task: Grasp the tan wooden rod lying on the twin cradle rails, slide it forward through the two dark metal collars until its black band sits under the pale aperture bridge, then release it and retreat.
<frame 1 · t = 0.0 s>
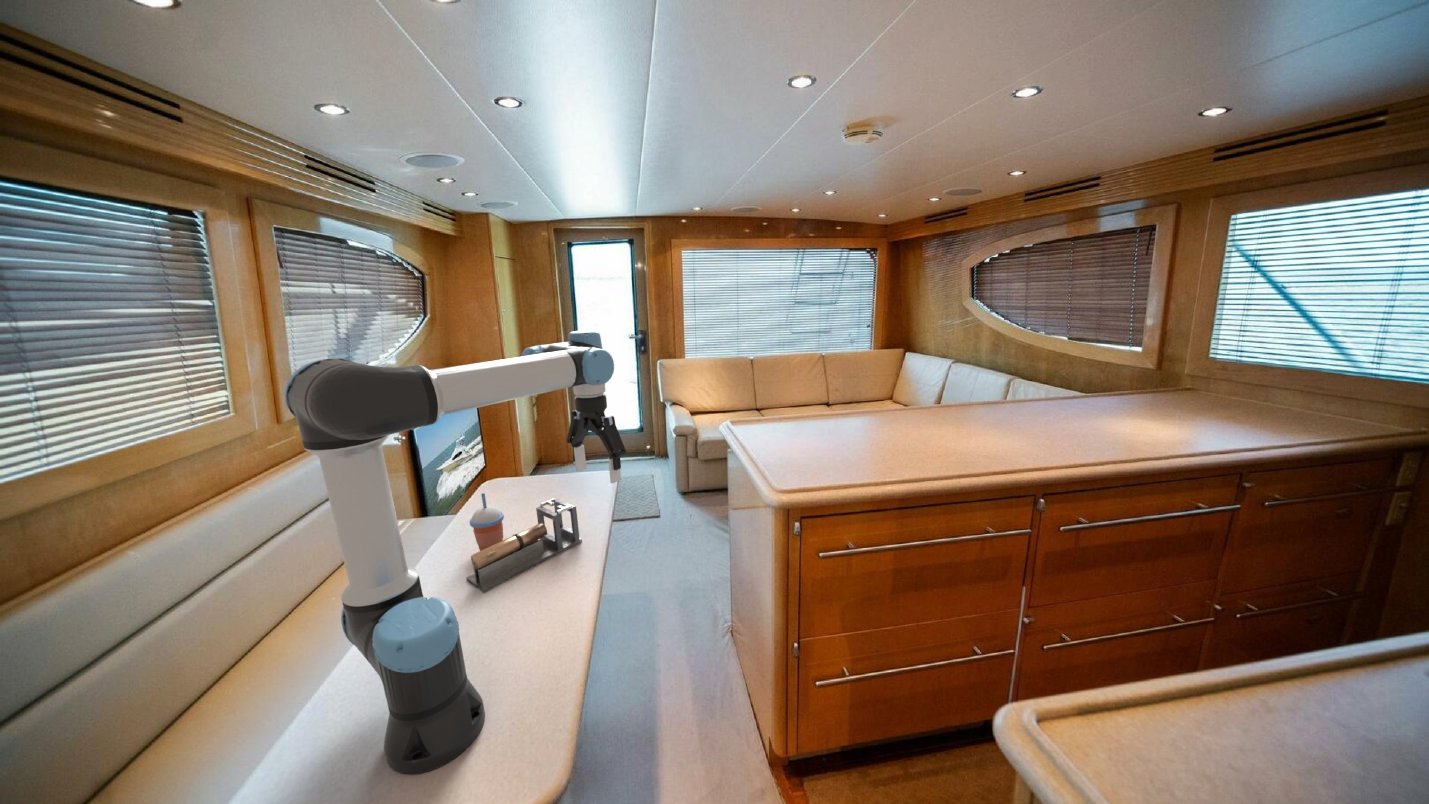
hand: (598, 475, 123), 28 cm above the table, fingers open, 13 cm apart
tan wooden rod: (510, 544, 133), point 7 cm above the table, touching collar rail
collar rail: (551, 548, 143), on the table
cup with straw: (491, 550, 144), on the table
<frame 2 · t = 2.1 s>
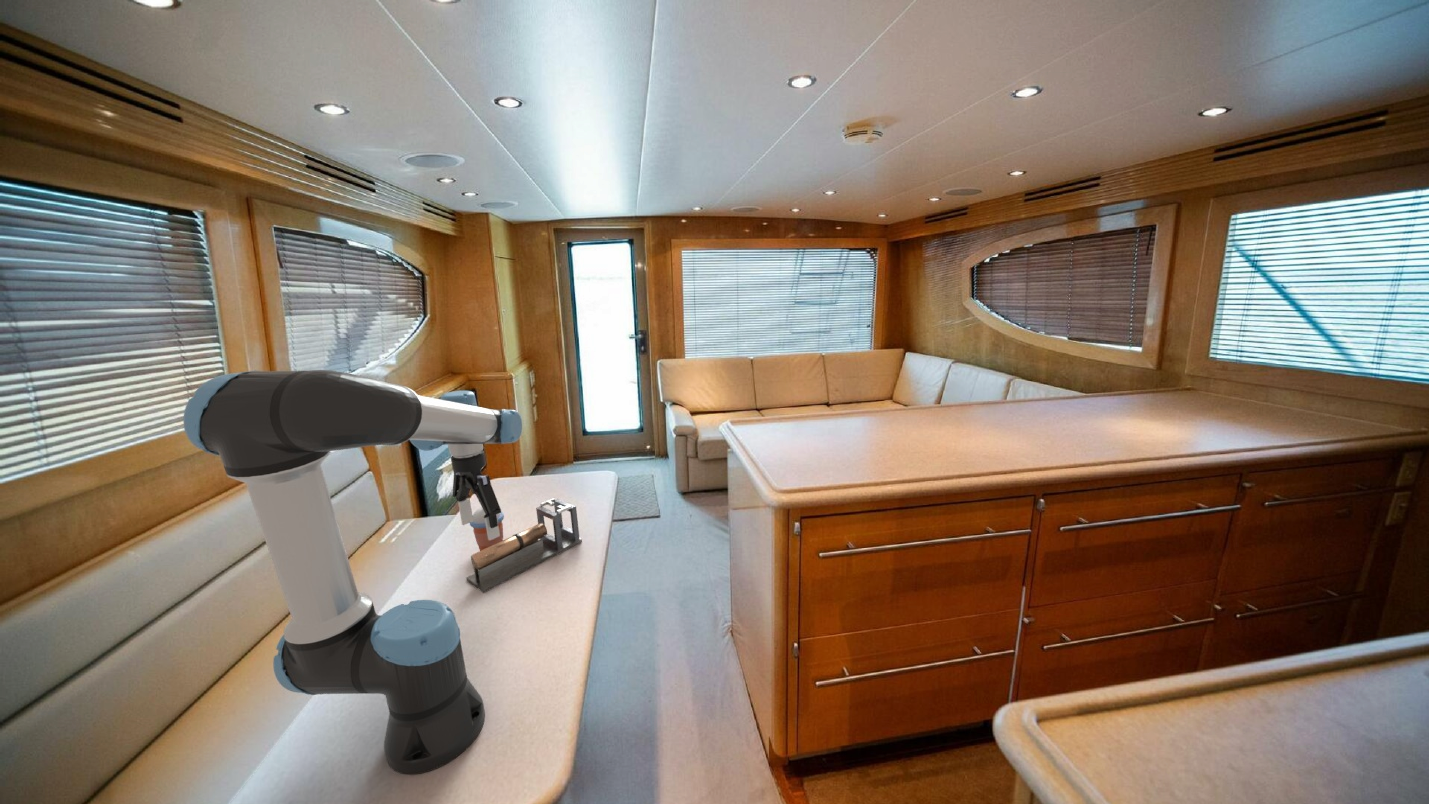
hand: (480, 530, 125), 14 cm above the table, fingers open, 13 cm apart
nothing on the table moved.
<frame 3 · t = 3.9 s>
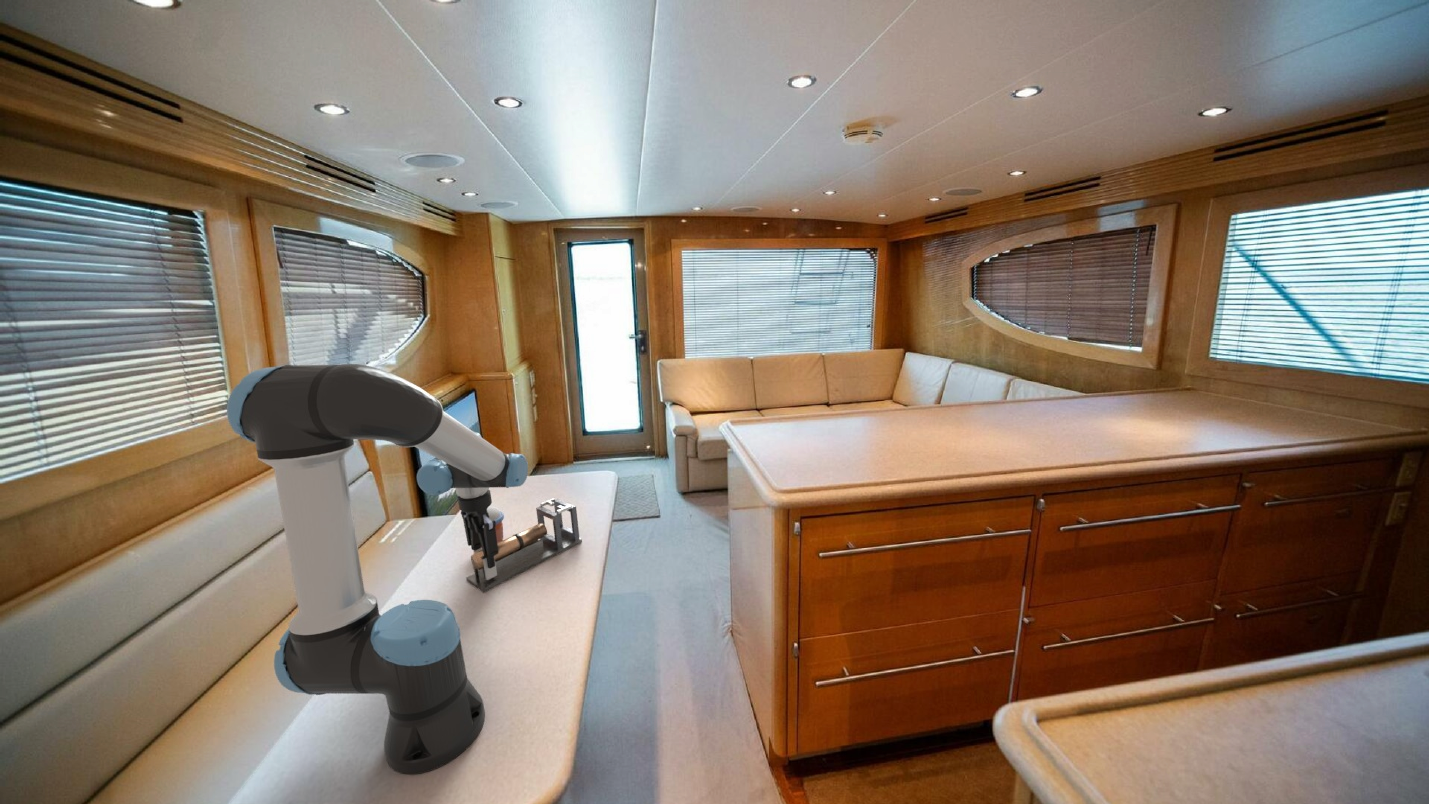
hand: (487, 574, 128), 2 cm above the table, fingers closed on tan wooden rod, 4 cm apart
tan wooden rod: (510, 544, 133), point 7 cm above the table, touching collar rail, gripper
everything else where it was.
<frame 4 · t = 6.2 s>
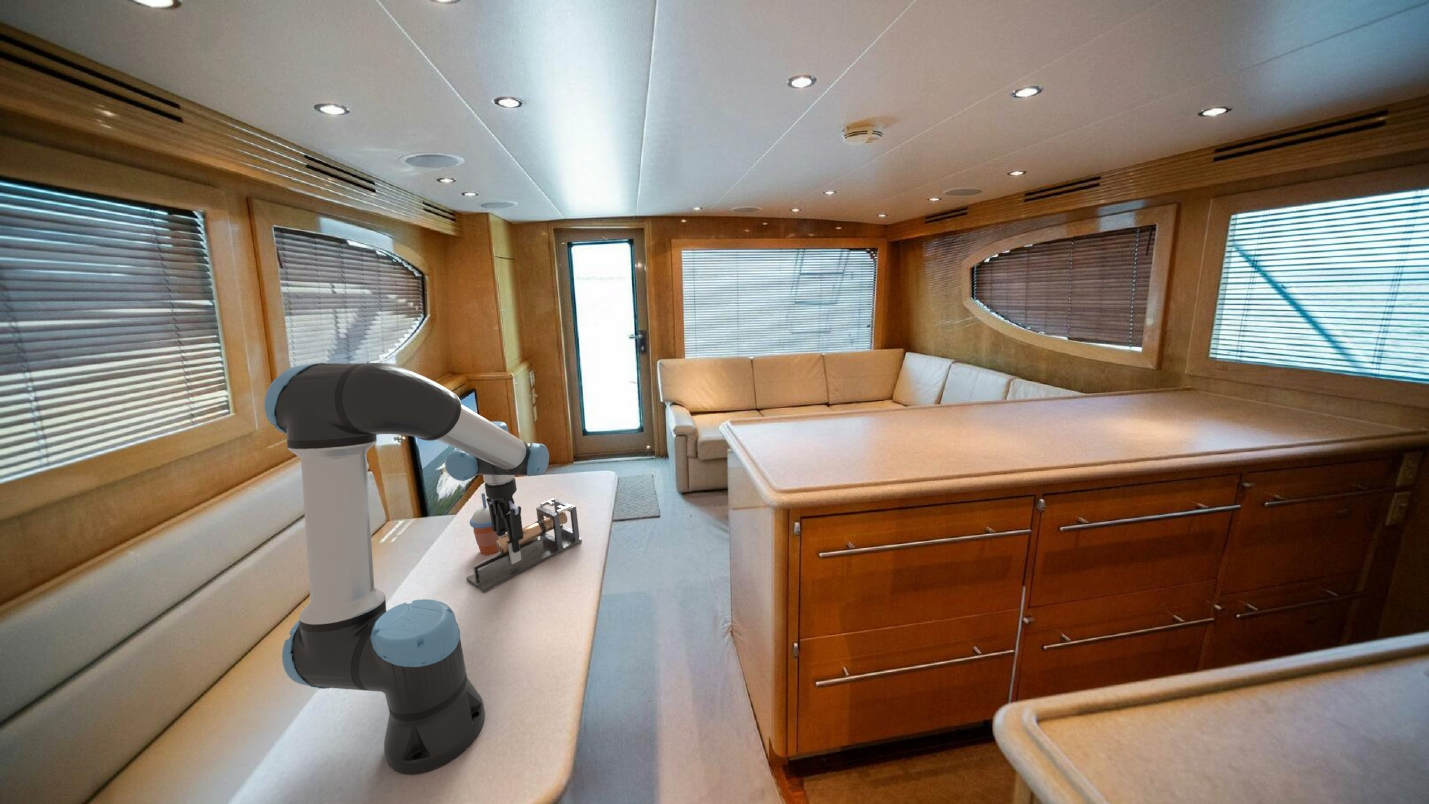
hand: (511, 558, 133), 3 cm above the table, fingers closed on tan wooden rod, 4 cm apart
tan wooden rod: (533, 531, 138), point 8 cm above the table, touching gripper
everything else where it was.
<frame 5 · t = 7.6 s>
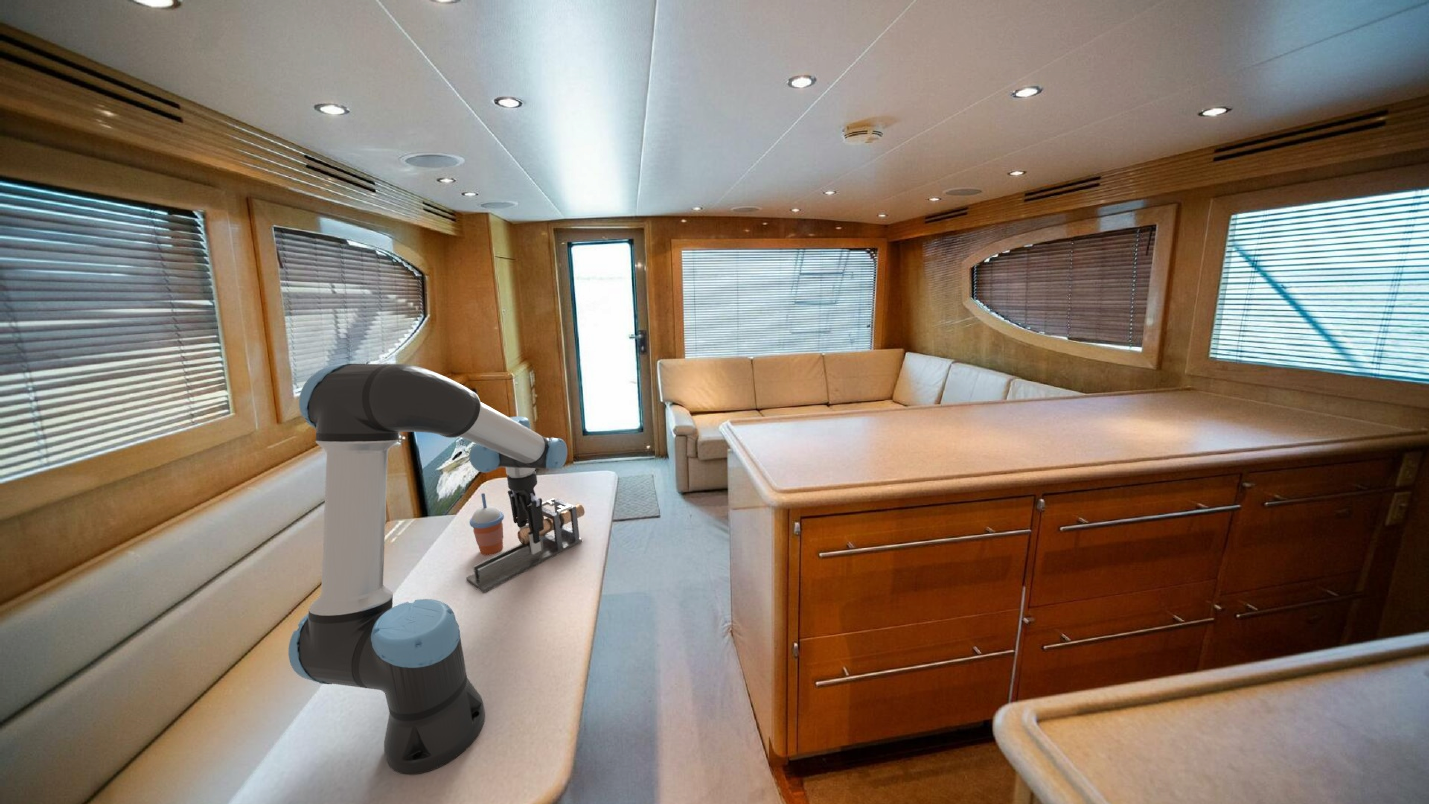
hand: (531, 549, 138), 3 cm above the table, fingers closed on tan wooden rod, 4 cm apart
tan wooden rod: (552, 522, 143), point 8 cm above the table, touching gripper
everything else where it was.
when the fingers open (3 cm above the table, at t = 8.7 s): tan wooden rod drops 1 cm, resting on collar rail.
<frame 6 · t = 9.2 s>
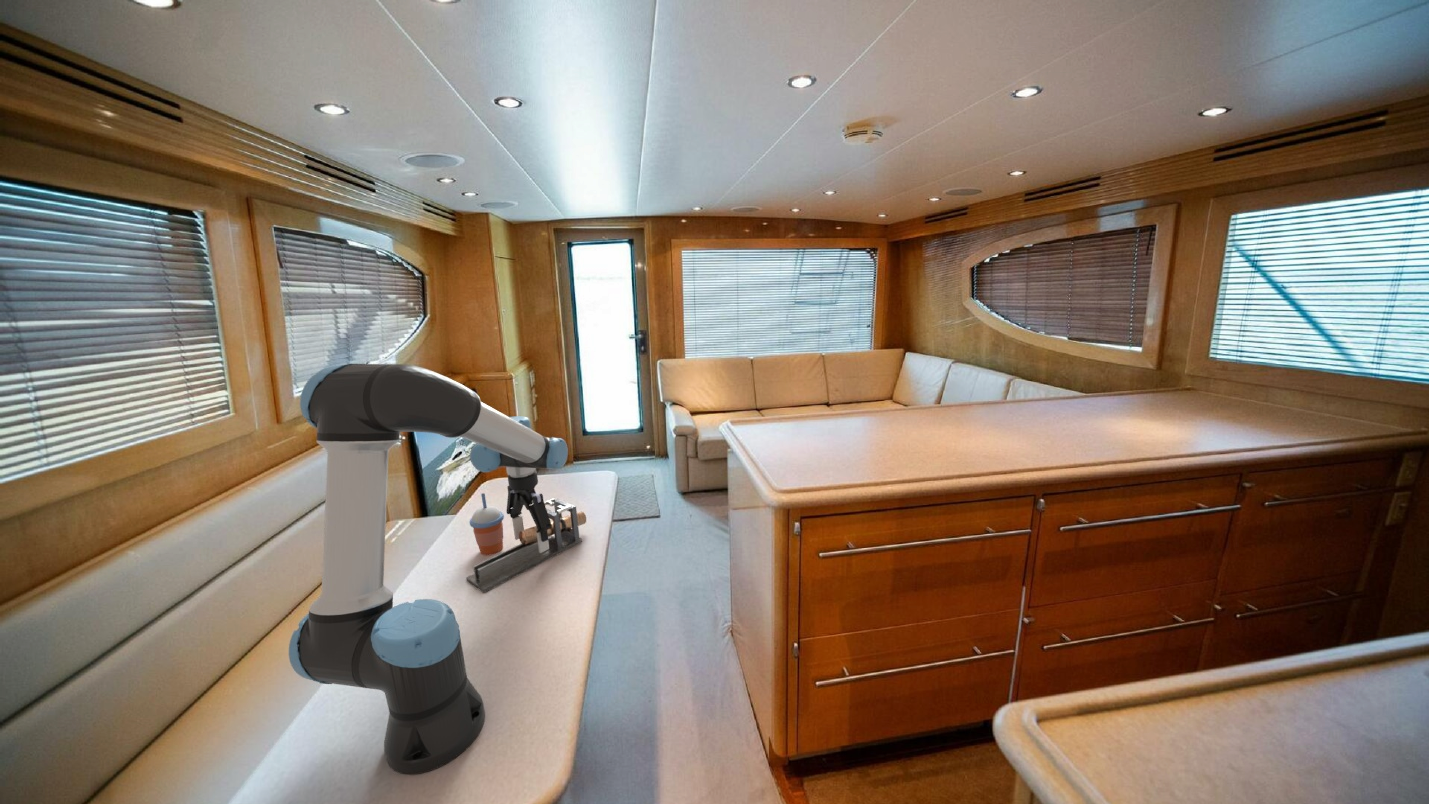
hand: (531, 544, 138), 4 cm above the table, fingers open, 11 cm apart
tan wooden rod: (554, 527, 143), point 6 cm above the table, tilted 7°, touching collar rail
everything else where it was.
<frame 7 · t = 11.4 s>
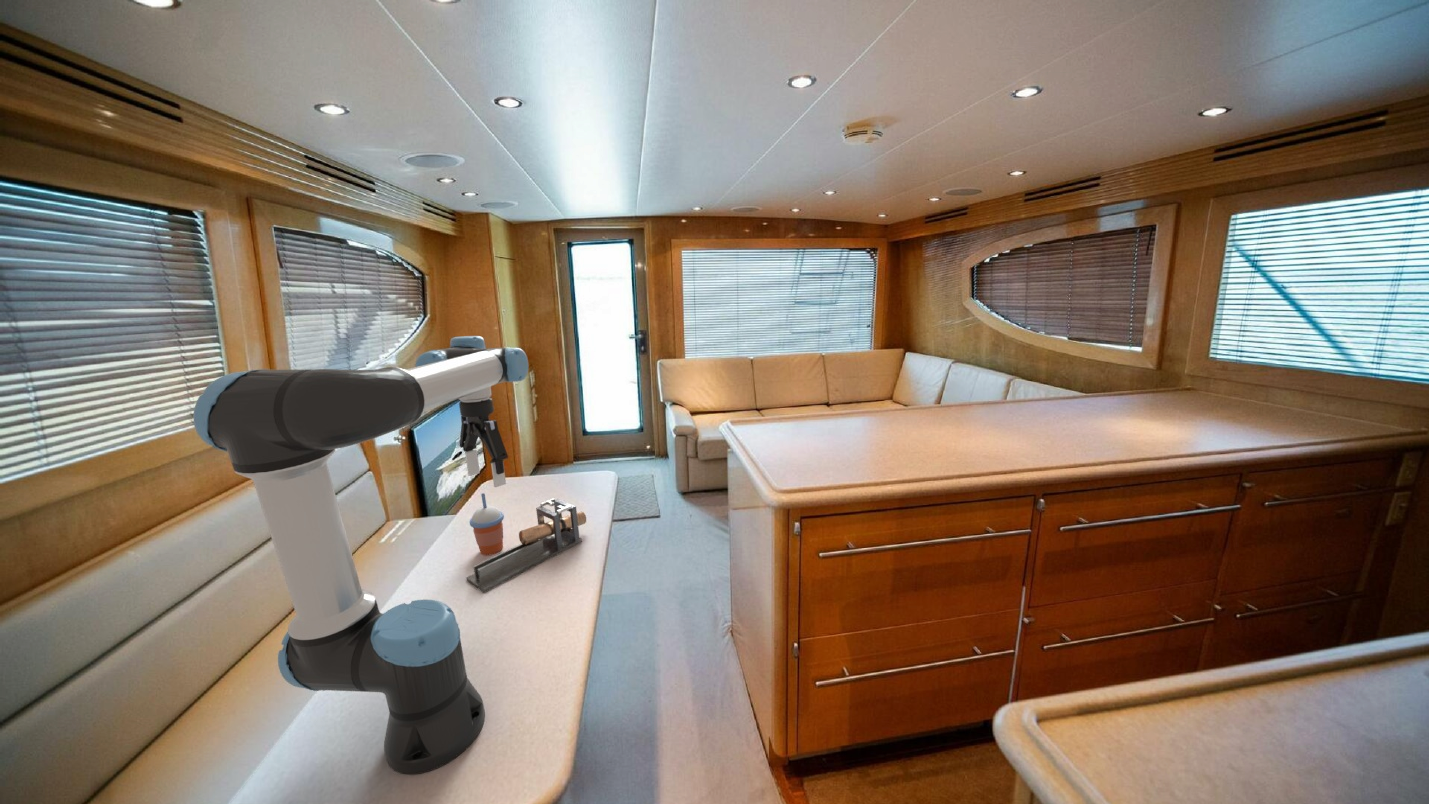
hand: (486, 479, 124), 27 cm above the table, fingers open, 13 cm apart
nothing on the table moved.
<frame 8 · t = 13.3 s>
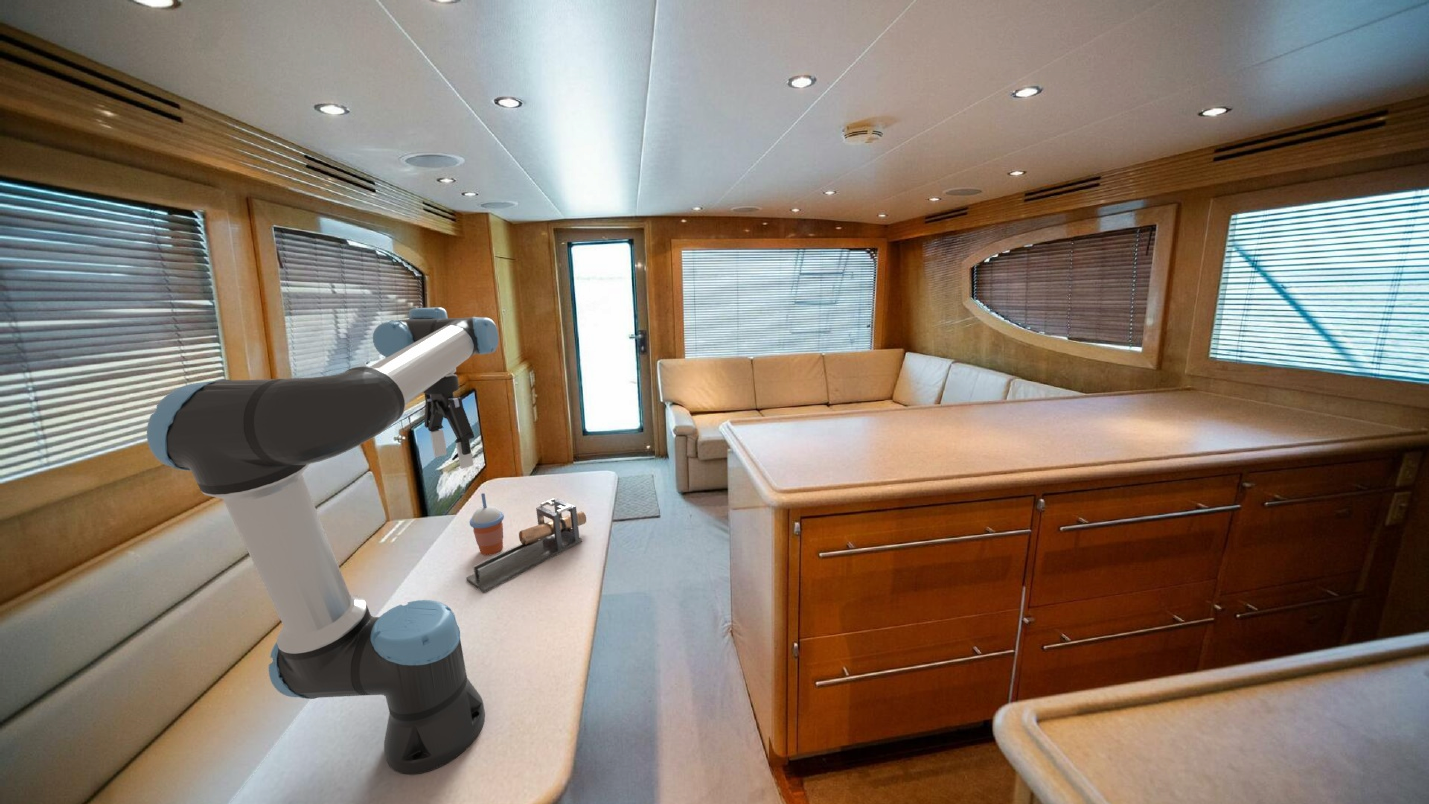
hand: (453, 461, 118), 35 cm above the table, fingers open, 13 cm apart
nothing on the table moved.
at the end: tan wooden rod 0.4 cm from the target spot on the collar rail, point 6.1 cm above the collar rail's base; the gripper is holding nothing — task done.
